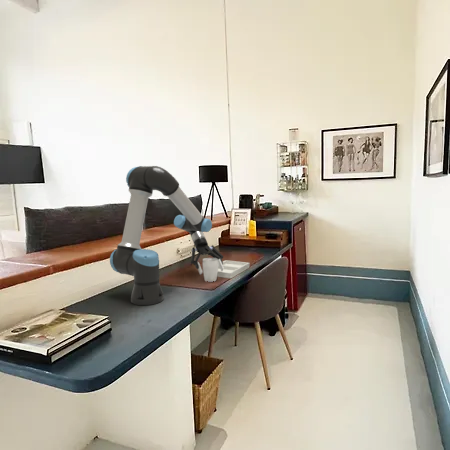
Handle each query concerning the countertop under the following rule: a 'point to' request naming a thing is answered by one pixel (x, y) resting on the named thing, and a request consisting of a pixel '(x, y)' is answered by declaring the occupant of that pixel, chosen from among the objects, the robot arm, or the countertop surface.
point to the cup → (210, 269)
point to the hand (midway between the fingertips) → (212, 271)
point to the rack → (232, 268)
